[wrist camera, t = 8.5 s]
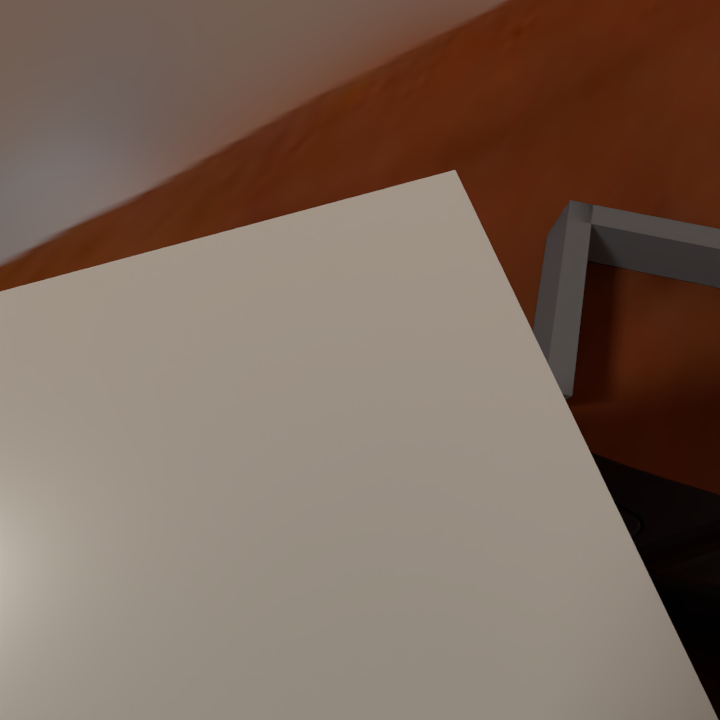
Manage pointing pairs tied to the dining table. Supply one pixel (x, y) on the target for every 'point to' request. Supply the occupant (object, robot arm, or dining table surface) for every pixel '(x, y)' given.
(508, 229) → the dining table surface
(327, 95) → the dining table surface
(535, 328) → the bay
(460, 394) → the tall beige block
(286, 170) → the dining table surface
